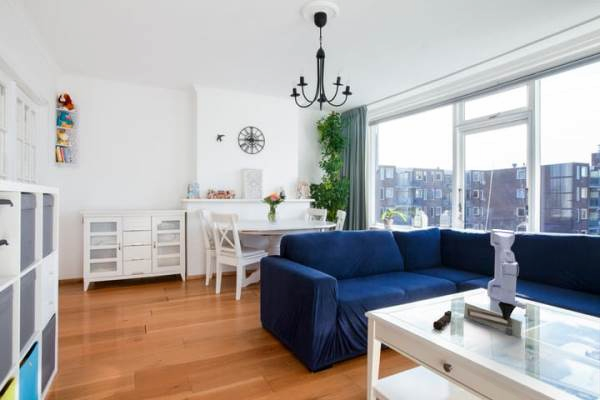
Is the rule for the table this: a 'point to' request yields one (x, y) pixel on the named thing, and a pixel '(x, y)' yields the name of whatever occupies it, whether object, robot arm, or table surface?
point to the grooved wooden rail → (489, 317)
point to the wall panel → (508, 330)
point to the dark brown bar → (442, 321)
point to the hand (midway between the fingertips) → (506, 319)
